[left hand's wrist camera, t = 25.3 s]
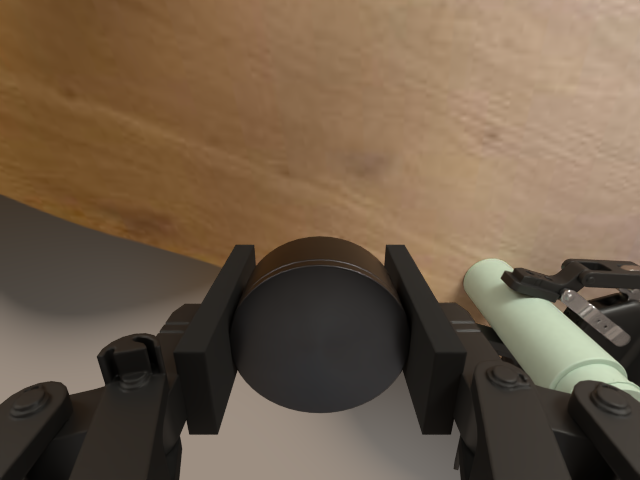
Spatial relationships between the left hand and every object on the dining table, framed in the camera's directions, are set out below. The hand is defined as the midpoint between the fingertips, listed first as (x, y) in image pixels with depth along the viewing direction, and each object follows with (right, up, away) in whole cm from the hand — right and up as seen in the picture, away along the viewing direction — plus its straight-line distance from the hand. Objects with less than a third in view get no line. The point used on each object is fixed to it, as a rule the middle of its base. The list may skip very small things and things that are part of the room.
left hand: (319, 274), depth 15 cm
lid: (0, -2, -4) cm, 4 cm away
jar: (+16, -2, +19) cm, 25 cm away
